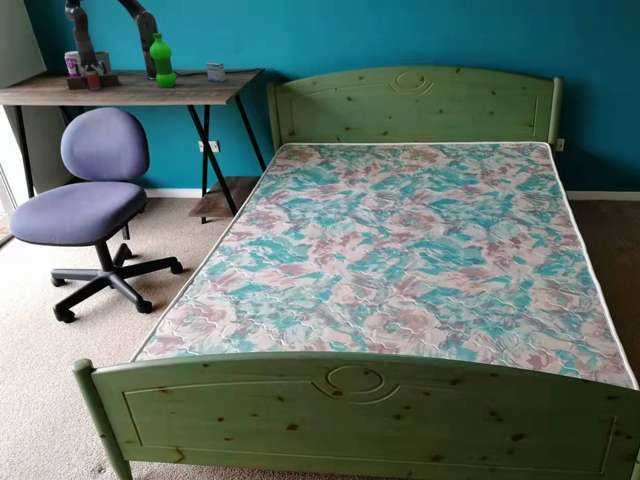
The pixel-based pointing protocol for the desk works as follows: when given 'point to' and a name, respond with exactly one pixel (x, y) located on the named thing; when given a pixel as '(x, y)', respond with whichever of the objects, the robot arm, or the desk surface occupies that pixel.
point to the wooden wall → (78, 84)
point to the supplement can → (73, 63)
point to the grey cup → (104, 57)
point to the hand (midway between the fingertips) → (94, 83)
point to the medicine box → (215, 72)
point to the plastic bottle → (162, 61)
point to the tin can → (93, 80)
